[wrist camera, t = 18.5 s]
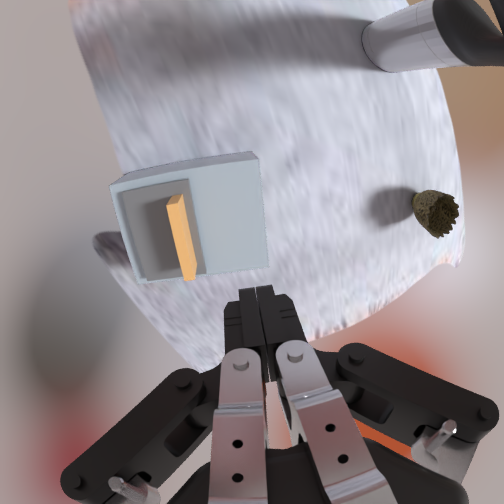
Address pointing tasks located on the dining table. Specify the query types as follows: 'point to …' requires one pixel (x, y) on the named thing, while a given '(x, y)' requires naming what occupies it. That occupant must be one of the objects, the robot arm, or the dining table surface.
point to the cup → (435, 211)
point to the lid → (165, 230)
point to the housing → (209, 210)
